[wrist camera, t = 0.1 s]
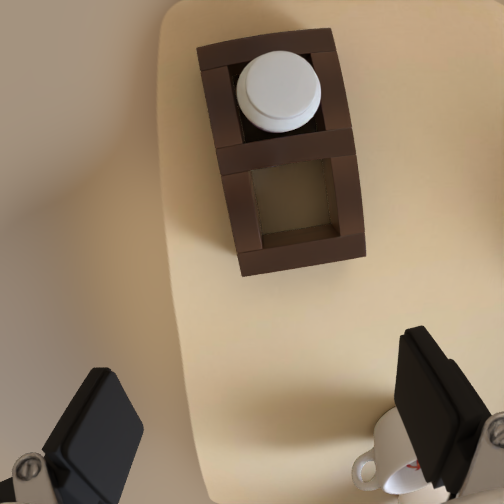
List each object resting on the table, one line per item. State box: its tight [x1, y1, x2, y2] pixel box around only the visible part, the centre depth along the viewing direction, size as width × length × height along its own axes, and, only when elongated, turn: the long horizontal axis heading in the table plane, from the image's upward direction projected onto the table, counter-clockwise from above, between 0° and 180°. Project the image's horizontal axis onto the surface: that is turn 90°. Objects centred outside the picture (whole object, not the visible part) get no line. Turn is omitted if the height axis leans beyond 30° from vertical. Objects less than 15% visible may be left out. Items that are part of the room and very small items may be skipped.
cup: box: [352, 407, 431, 494], centre depth 32 cm, size 14×10×10 cm
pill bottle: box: [237, 51, 321, 133], centre depth 20 cm, size 5×5×10 cm
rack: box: [196, 28, 366, 277], centre depth 24 cm, size 18×10×4 cm, turn 10°
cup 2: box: [398, 483, 449, 504], centre depth 36 cm, size 13×13×14 cm
